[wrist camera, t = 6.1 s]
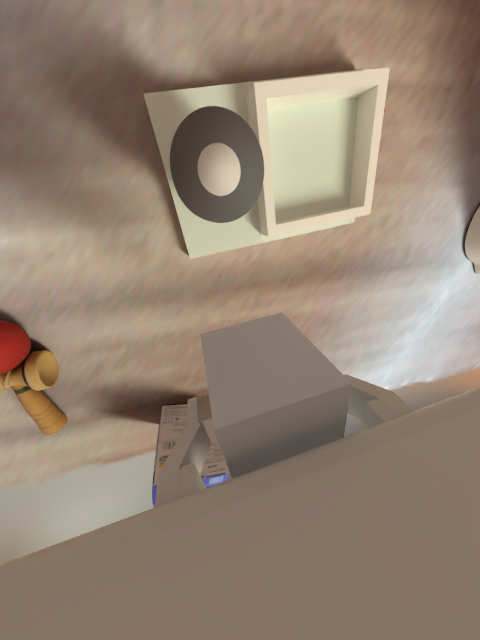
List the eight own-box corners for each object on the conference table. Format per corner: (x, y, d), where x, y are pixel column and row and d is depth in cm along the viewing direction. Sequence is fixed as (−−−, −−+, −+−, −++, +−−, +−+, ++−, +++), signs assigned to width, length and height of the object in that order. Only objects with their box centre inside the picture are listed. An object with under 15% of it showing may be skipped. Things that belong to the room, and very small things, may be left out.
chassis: (358, 77, 22) (391, 50, 18) (346, 222, 28) (368, 223, 25) (146, 101, 19) (137, 76, 15) (189, 256, 26) (190, 263, 22)
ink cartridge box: (159, 426, 37) (148, 532, 25) (160, 404, 35) (147, 509, 23) (213, 421, 40) (227, 514, 28) (216, 400, 38) (233, 492, 26)
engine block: (281, 312, 12) (351, 383, 7) (286, 382, 15) (338, 468, 10) (200, 334, 12) (213, 429, 7) (222, 403, 15) (243, 506, 10)
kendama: (96, 402, 34) (37, 309, 23) (73, 443, 28) (-18, 348, 18) (46, 403, 33) (-38, 309, 23) (13, 446, 28) (-115, 349, 17)
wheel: (248, 115, 16) (258, 99, 14) (258, 214, 20) (268, 214, 17) (158, 127, 15) (154, 112, 13) (186, 228, 19) (186, 230, 16)
